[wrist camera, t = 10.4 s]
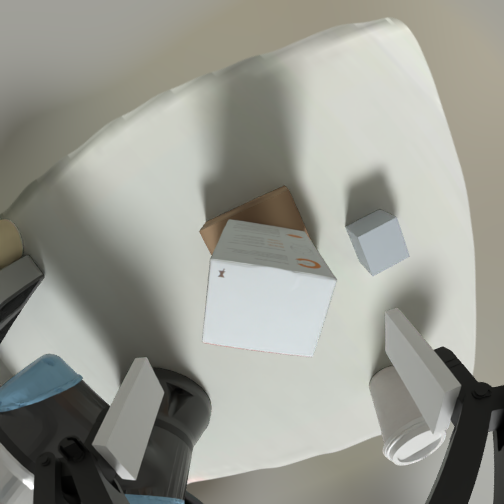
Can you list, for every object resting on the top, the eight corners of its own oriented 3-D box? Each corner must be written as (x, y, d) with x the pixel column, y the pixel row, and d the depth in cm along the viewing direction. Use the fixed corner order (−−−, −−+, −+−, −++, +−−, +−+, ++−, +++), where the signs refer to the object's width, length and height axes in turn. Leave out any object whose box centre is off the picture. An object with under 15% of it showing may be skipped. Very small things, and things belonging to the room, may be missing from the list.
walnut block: (243, 292, 39) (241, 310, 34) (206, 221, 36) (199, 231, 31) (316, 260, 37) (325, 275, 33) (284, 185, 35) (288, 189, 30)
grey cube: (359, 261, 37) (372, 276, 32) (344, 226, 36) (357, 237, 31) (392, 244, 36) (409, 256, 31) (379, 209, 35) (396, 217, 30)
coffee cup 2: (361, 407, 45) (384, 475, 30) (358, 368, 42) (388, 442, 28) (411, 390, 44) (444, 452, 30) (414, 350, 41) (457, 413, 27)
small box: (219, 276, 33) (198, 344, 20) (227, 217, 31) (208, 256, 18) (294, 288, 33) (314, 359, 20) (306, 230, 31) (339, 276, 19)
